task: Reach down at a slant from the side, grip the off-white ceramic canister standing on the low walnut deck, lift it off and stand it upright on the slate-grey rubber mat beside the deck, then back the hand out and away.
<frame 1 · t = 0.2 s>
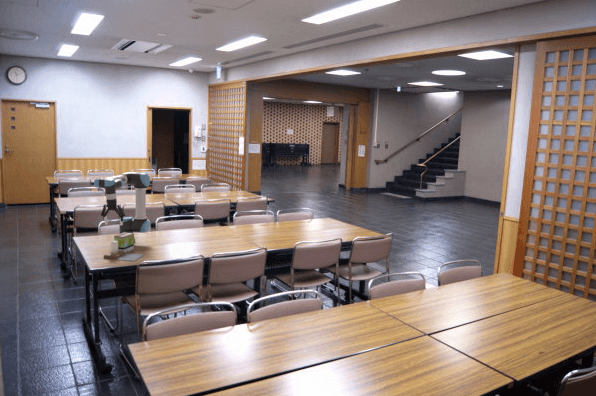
hand: (113, 224, 369), 27 cm above the table, tool pointing down, fingers open, 13 cm apart
tea box: (124, 251, 394), on the table
ceramic canister: (114, 253, 376), point 2 cm above the table, touching walnut deck
slate mat: (130, 257, 376), on the table
walnut deck: (114, 256, 377), on the table
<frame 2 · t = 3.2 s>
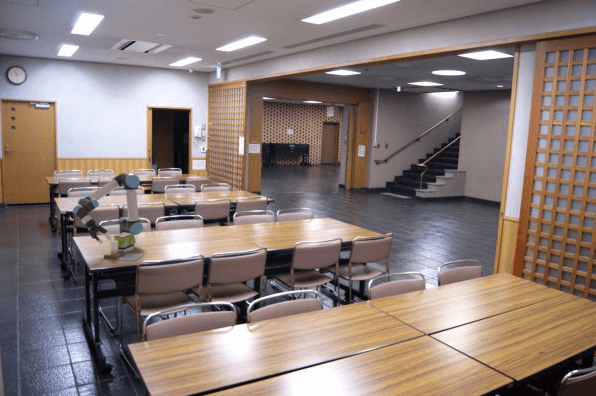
hand: (106, 241, 374), 12 cm above the table, tool tilted 45°, fingers open, 13 cm apart
nothing on the table moved.
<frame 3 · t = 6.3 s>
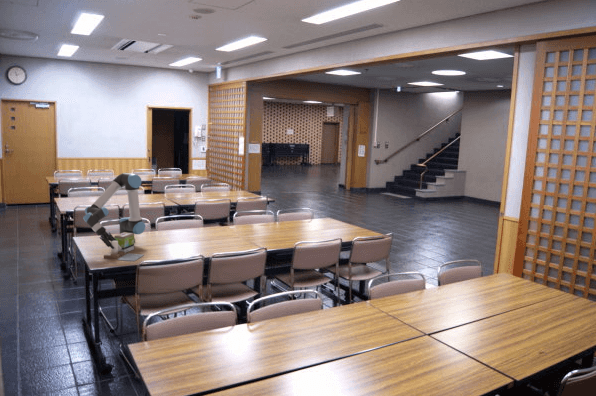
hand: (118, 250, 376), 5 cm above the table, tool tilted 45°, fingers closed on ceramic canister, 5 cm apart
ceramic canister: (114, 253, 376), point 2 cm above the table, touching gripper, walnut deck
everything else where it was.
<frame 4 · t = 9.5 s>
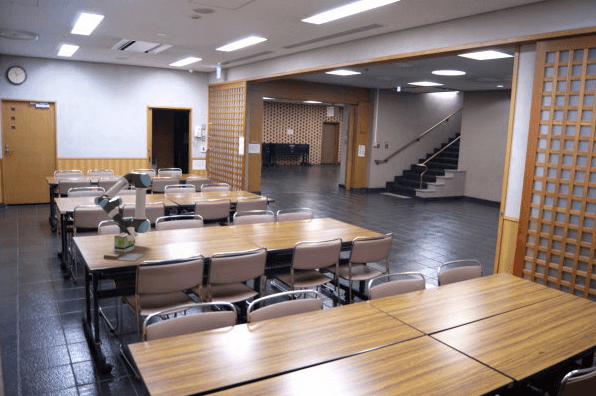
hand: (135, 236, 372), 18 cm above the table, tool tilted 45°, fingers closed on ceramic canister, 5 cm apart
ceramic canister: (130, 239, 373), point 15 cm above the table, touching gripper
everything else where it was.
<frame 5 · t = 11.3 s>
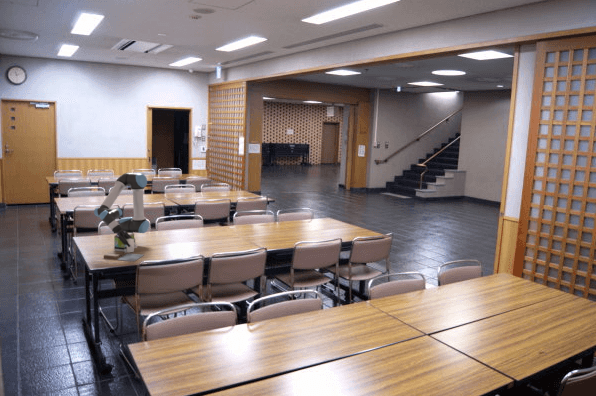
hand: (134, 248, 373), 8 cm above the table, tool tilted 45°, fingers closed on ceramic canister, 5 cm apart
ceramic canister: (130, 251, 374), point 5 cm above the table, touching gripper
everything else where it was.
when the fingers open (5 cm above the table, at t = 13.0 s): ceramic canister drops 1 cm, resting on slate mat.
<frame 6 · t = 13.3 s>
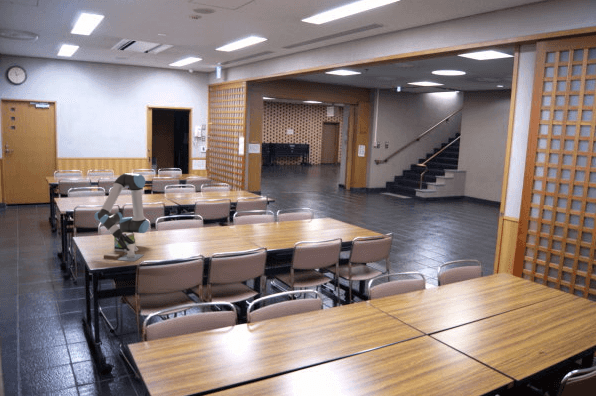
hand: (134, 251, 374), 5 cm above the table, tool tilted 45°, fingers open, 9 cm apart
ceramic canister: (130, 256, 375), point 1 cm above the table, touching slate mat
everything else where it was.
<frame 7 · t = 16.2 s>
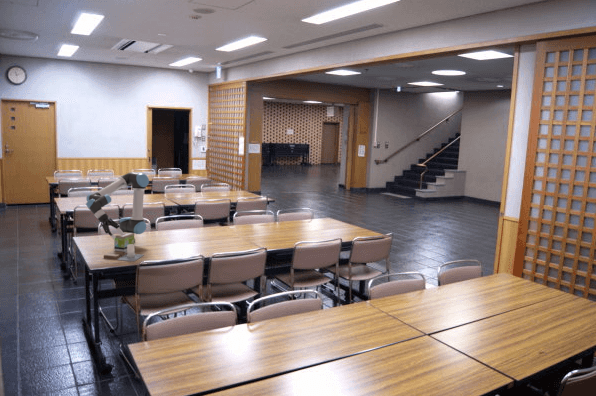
hand: (118, 236, 374), 17 cm above the table, tool tilted 40°, fingers open, 13 cm apart
nothing on the table moved.
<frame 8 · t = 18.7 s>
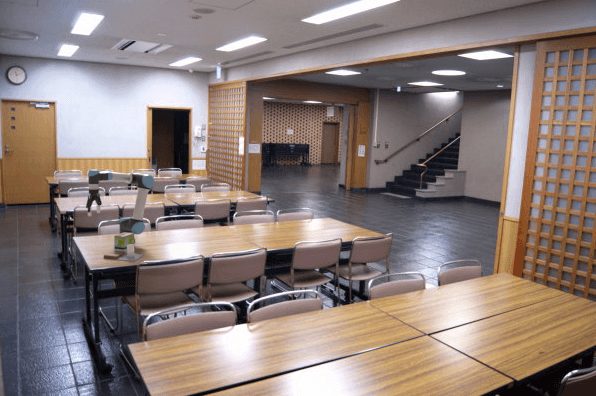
hand: (94, 214, 377), 33 cm above the table, tool pointing down, fingers open, 13 cm apart
nothing on the table moved.
at the end: ceramic canister inside the target area on the slate mat (0.1 cm from its centre), point 0.7 cm above the slate mat's base; ceramic canister tilted 2°; the gripper is holding nothing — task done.
